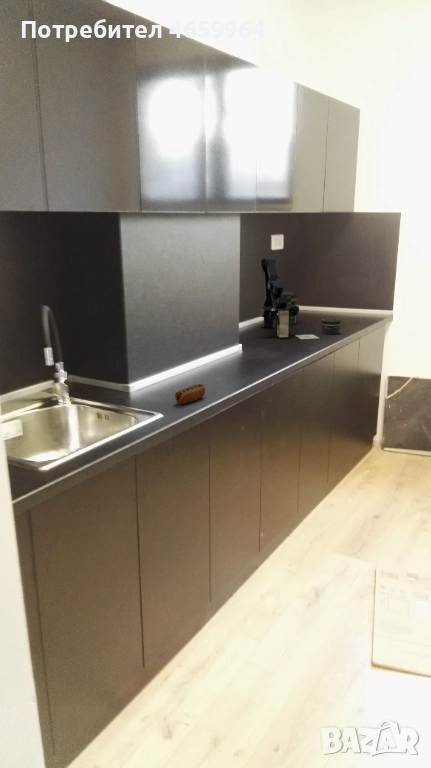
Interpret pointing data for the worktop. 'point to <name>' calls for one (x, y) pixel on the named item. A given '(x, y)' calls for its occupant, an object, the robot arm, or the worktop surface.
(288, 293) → the coffee jar
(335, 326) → the jar
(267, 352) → the worktop surface
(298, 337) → the card
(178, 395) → the hot dog
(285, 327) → the oak block
